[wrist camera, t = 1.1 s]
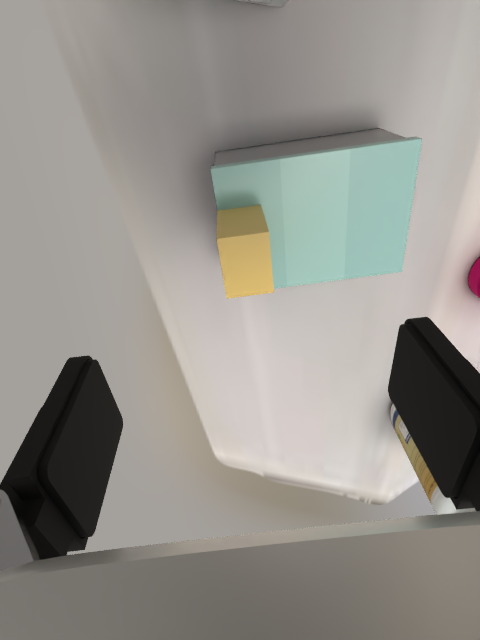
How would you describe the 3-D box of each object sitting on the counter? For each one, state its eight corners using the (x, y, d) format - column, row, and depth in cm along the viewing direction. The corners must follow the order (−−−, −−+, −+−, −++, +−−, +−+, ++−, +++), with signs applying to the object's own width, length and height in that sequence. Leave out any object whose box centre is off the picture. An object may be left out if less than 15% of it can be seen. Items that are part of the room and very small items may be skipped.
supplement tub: (379, 434, 50) (440, 572, 36) (396, 370, 43) (479, 512, 30) (466, 427, 50) (559, 563, 37) (496, 363, 43) (626, 501, 30)
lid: (409, 134, 24) (467, 153, 18) (392, 261, 29) (433, 306, 24) (211, 163, 24) (208, 190, 19) (230, 283, 30) (232, 332, 24)
